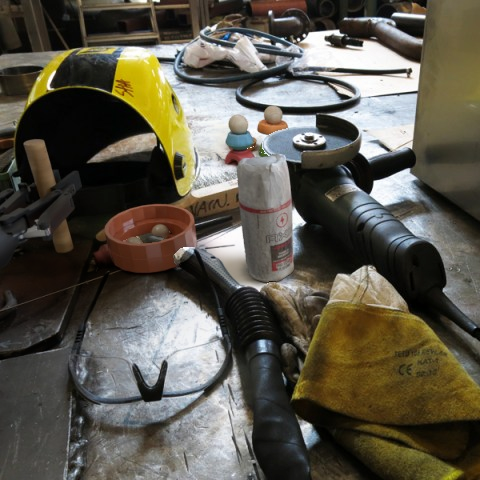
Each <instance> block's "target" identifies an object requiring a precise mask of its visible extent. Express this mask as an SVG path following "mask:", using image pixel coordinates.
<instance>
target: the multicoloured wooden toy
mask: <svg viewBox="0 0 480 480" xmlns="http://www.w3.org/2000/svg"><path fill="white" fill-rule="evenodd" d="M227 124H228V129H229V132H227V136H226V138H225V142H224V143H225V145H226V146H227V147H228V149H229V151H228V152H227V154H226V155H225V158H224V164H225V165H228V164H230V163H233V162H237V165H238V164H239V162H240V161H241V160H242V159H244V158H253V157H256V155H255V154H254V152H253V151H254V150H255V149H256V147H257V141H258V140H257V138H256V137H254V136H252V134H251V132H250V131H249V129H248V128H249V120H248V119H247V118H246V116H244V115H242V114H234V115H232V116H231V117H230V118H229V120H228V123H227ZM286 128H288V129H289V125H288V123H287V122H286V121H285V120H283V111H282V109H281V108H280V107H278V106H277V105H270V106H267V107H266V108H265V110H264V111H263V119H261V120H259V122H258V123H257V127H256V131H257V132H258V133H260V134H262V135H265V136H270V135H269V134H271V133H273V132H275V131H278V130H282V129H286ZM253 146H254V147H253ZM250 147H252V148H250ZM247 148H248V149H247ZM259 151H260V152H259ZM261 152H262V153H261ZM264 153H265V152H264V150H263V149H262V142H260V145H259V148H258V153H257V154H258V157H269V156H268V155H267V154H264Z"/></svg>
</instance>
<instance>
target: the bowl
mask: <svg viewBox="0 0 480 480" xmlns="http://www.w3.org/2000/svg"><path fill="white" fill-rule="evenodd" d="M159 224H162V225H165V226H166V227H167V228H168V229H169V231H170V232H172V234H170V233H169V236H168V238H167V239H166V240H162V241H159V242H152V243H128V242H123V240H126V239H129V238H131V237H136V236H140V235H143V234H146V233H151V232H152V229H153V227H154V226H156V225H159ZM196 232H197V231H196V223H195V218H194V214H192V213H191V212H190V211H189V210H188V209H186V208H183V207H181V206H179V205H173V204H169V203H168V204H167V203H164V204H162V203H153V204H146V205H140V206H135V207H132V208H131V207H130V208H129V209H126V210H123V211H121V212H118V213H117V214H116V215H114V216H112V217H111V218H110V219H109V220H108V221H107V223H106V224H105V225H104V236H105V241H106V245H107V249H108V253H109V259H110V260H111V261H112V263H113V265H114V266H116V267H118V268H119V269H121V270H123V271H127V272H131V273H136V274H141V273H142V274H144V273H145V274H151V273H158V272H163V271H167V270H170V269H173V268H176V267H178V266H180V265H179V264H177V265H176V264H175V263H174V258H173V255H174V254H175V253H176V252H177V251H178V250H179V249H180V248H183V247H196V249H198V240H197V239H198V238H197V233H196Z"/></svg>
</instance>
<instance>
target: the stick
mask: <svg viewBox="0 0 480 480" xmlns="http://www.w3.org/2000/svg"><path fill="white" fill-rule="evenodd" d="M23 148H24V151H25V154H26V157H27V160H28V164H29V167H30V171H31V173H32V176H33V179H34V183H36V187H37V190H38V193H39V197H40V199H41V198H43V197H44V196H46V195H47V194H49V193H51V192H52V191H51V187H53V186H54V185H55V184H56V182H55V178H54V175H53V171H52V170H53V169H52V164H51V161H50V158H49V157H50V156H49V154H48V151H47V150H48V149H47V146H46V143H45V140H44V139H40V138H39V139H37V138H34V139H29V140H26V141H24V142H23ZM69 229H70V228H69V226H68V222H67V218H66V219H65V220H64V221H63V222H62V223H61V224H60V226H59V227H58V228H57V229H56V230H55V231H54V234H53V239H52V243H53V246H54V250H55V252H57V253H58V254H65V253H68V252H71V251H72V250H73V249H74V243H73V240H72V237H71V233H70V230H69Z"/></svg>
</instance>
